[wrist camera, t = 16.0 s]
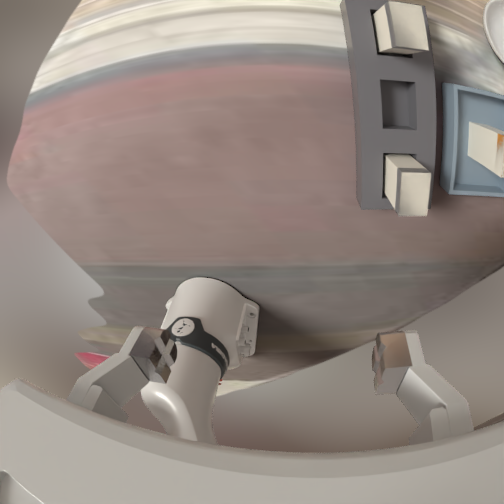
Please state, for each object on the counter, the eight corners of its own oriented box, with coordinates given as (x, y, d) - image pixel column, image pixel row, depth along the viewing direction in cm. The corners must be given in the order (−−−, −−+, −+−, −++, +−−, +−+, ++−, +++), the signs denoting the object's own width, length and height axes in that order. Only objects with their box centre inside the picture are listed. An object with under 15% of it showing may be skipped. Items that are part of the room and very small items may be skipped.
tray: (497, 188, 32) (509, 197, 29) (439, 184, 34) (449, 194, 32) (504, 96, 24) (517, 99, 21) (441, 82, 26) (453, 83, 24)
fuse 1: (400, 55, 25) (428, 50, 18) (374, 53, 26) (396, 46, 19) (395, 20, 23) (421, 6, 15) (369, 17, 23) (388, 0, 16)
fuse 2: (403, 186, 35) (426, 215, 28) (380, 186, 36) (398, 216, 28) (405, 151, 32) (431, 173, 25) (381, 151, 33) (401, 172, 26)
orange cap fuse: (485, 157, 29) (519, 179, 22) (467, 155, 30) (500, 177, 23) (487, 124, 27) (523, 140, 19) (469, 121, 28) (504, 136, 20)
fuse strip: (420, 197, 36) (430, 209, 33) (356, 197, 38) (361, 209, 35) (413, 11, 22) (424, 6, 18) (339, 5, 24) (343, -3, 21)
